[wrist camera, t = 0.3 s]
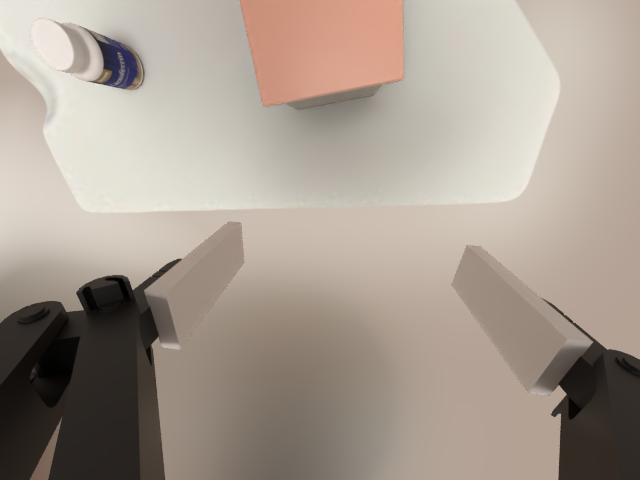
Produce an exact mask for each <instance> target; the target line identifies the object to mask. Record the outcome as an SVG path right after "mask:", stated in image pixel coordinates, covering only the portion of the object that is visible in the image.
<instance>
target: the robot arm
mask: <svg viewBox="0 0 640 480" xmlns="http://www.w3.org/2000/svg"><path fill="white" fill-rule="evenodd" d="M243 263H244V253H243V240H242V228H241V223H238V222H227V224H225V225H224V226H223V227H221V228H220V229H219V230H218V231H216V232H215V233H214V234H213V235H212V236H210V237H209V238H208V239H207V240H205V241H204V242H203V243H202V244H200V245H199V246H198V247H197V248H196V249H194V250H193V251H192V252H191V253H189V254H188V255H187V256H186V257H185V258H183V259H177V260H174V261H172V262H170V263H168V264H166V265H165V266H164V267H162V268H161V269H160V270H159V271H158V272H156V273H155V274H153V275H152V277H149V278H148V279H147V280H146V281H144V282H143V283H142V284H140V285H139V286H138V287H137V288H135V289H134V290H132V288H131V285H130V282H129V279H128V278H127V277H125V276H122V275H113V276H106V277H102V278H98V279H95V280H93V281H91V282H89V283H86V284H85V285H84V286H82V287H81V288H79V290H78V291H77V296H78V298H79V300H80V302H81V304H82V306H83V309H84V310H83V311H73V312H66V311H65V309H64V307H63V305H62V304H61V302H57V301H46V302H41V303H36V304H32V305H30V306H26V307H24V308H22V309H20V310H19V311H16V312H14V313H12V314H11V315H10V316H8V317H7V318H6V319H4V321H2V322H1V323H0V480H30V478H31V476H32V474H33V472H34V470H35V468H36V466H37V464H38V462H39V460H40V458H41V457H42V454H43V453H44V451H45V449H46V447H47V445H48V443H49V441H50V439H51V437H52V435H53V433H54V431H55V429H56V427H57V425H58V424H59V422H60V420H61V418H62V421H61V426H60V430H59V434H58V439H57V443H56V448H55V452H54V457H53V461H52V466H51V470H50V474H49V479H48V480H165V474H164V463H163V452H162V441H161V431H160V420H159V409H158V399H157V388H156V377H155V367H154V356H153V349H152V346H151V344H152V343H153V342H154V341H155V340H156V339H157V337H159V340H160V343H161V346H162V347H164V348H172V349H180V350H181V348H182V347H183V346H184V344H185V343H186V342H187V340H188V339H189V337H190V336H191V335H192V333H193V332H194V331H195V329H196V328H197V326H198V325H199V324H200V322H201V321H202V320H203V318H204V317H205V316H206V314H207V313H208V312H209V310H210V309H211V307H212V306H213V305H214V303H215V302H216V301H217V299H218V298H219V296H220V295H221V294H222V292H223V291H224V290H225V288H226V287H227V285H228V284H229V283H230V281H231V280H232V279H233V277H234V276H235V274H236V273H237V272H238V270H239V269H240V268H241V266H242V265H243ZM452 286H453V287H454V289H455V290H456V292H457V293H458V294H459V296H460V297H461V299H462V300H463V301H464V303H465V304H466V306H467V307H468V309H469V310H470V311H471V313H472V314H473V316H474V317H475V318H476V320H477V321H478V323H479V324H480V326H481V327H482V328H483V330H484V331H485V333H486V334H487V336H488V337H489V338H490V340H491V341H492V343H493V344H494V346H495V347H496V348H497V350H498V351H499V353H500V354H501V356H502V357H503V358H504V360H505V361H506V363H507V364H508V365H509V367H510V368H511V370H512V371H513V372H514V374H515V375H516V377H517V378H518V380H519V381H520V382H521V384H522V385H523V387H524V388H525V389H526V391H527V392H528V393H531V394H540V395H548V396H550V395H551V394H552V392H553V391H554V390H555V389H556V388H557V386H558V385H560V387H561V388H562V389H563V390H564V391H565V392H566V394H567V395H566V396H565V397H564V399H563V400H562V401H561V402H560V403H559V404H558V406H557V407H556V408H555V409H554V410H553V412H552V414H551V415H552V416H554V417H556V415H557V414H561V431H560V455H559V456H560V457H559V479H558V480H640V360H639V359H637V358H635V357H633V356H631V355H629V354H626V353H623V352H620V351H616V350H611V349H610V350H607V349H606V348H604V347H603V346H602V345H601V344H600V343H598V342H597V341H596V340H595V339H593V338H592V337H591V336H590V335H589V334H588V333H586V332H585V331H584V330H583V329H582V328H580V327H579V326H578V325H577V324H576V323H573V321H572V320H571V319H569V318H568V317H567V316H566V315H564V314H563V313H562V312H561V311H560V310H559V309H557V308H556V307H555V306H554V305H553V304H551V303H549V302H548V301H546V300H544V299H543V298H541V297H540V296H538V295H537V294H536V293H535V292H534V291H532V290H531V289H530V288H529V287H528V286H527V285H525V284H524V283H523V282H522V281H521V280H520V279H518V278H517V277H516V276H515V275H513V274H512V273H511V272H510V271H509V270H508V269H507V268H505V267H504V266H503V265H502V264H501V263H499V262H498V261H497V260H496V259H495V258H494V257H492V256H491V255H490V254H489V253H488V252H487V251H485V250H484V249H483V248H482V247H481V246H471V245H467V246H466V248H465V251H464V254H463V256H462V259H461V261H460V264H459V267H458V269H457V272H456V274H455V277H454V280H453V283H452Z"/></svg>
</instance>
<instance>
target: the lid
mask: <svg viewBox="0 0 640 480" xmlns="http://www.w3.org/2000/svg"><path fill="white" fill-rule="evenodd" d="M240 4H241V8H242V13H243V17H244V22H245V26H246V31H247V35H248V40H249V44H250V49H251V53H252V58H253V62H254V67H255V71H256V76H257V80H258V85H259V89H260V94H261V98H262V103H263V106H266V107H269V106H274V105H279V104H284V103H289V102H294V101H300V100H305V99H310V98H315V97H320V96H325V95H330V94H335V93H340V92H346V91H351V90H356V89H361V88H366V87H371V86H376V85H381V84H386V83H391V82H397V81H401V80H402V79H403V0H240Z"/></svg>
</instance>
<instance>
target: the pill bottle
mask: <svg viewBox="0 0 640 480" xmlns="http://www.w3.org/2000/svg"><path fill="white" fill-rule="evenodd" d="M30 35H31V41H32V44H33V47H34V49H35V51H36V53H37V54H38V56H39V57H40V58H41V59H42V60H43V61H44V62H45V63H46V64H47V65H48V66H50V67H51V68H53V69H56V70H59V71H63V72H66V73H70V74H71V75H73V76H74V77H76V78H78V79H81V80H84V81H88V82H93V83H98V84H103V85H107V86H112V87H117V88H122V89H127V90H132V89H136V88H137V87H138V86H140V84H141V82H142V80H143V68H142V65H141V62H140V60H139V58H138V56H137V55H136V54H135V53H134V52H133V51H132V50H131V49H130V48H129V47H128V46H126V45H124V44H122V43H120V42H117V41H115V40H112V39H110V38H108V37H105V36H103V35H100V34H98V33H95V32H93V31H91V30H88V29H86V28H83V27H81V26H78V25H76V24H72V23H63V24H61V23H58V22H55V21H53V20H50V19H45V18H41V19H38V20H36V21H35V22H34V23H33V24H32V26H31V31H30Z"/></svg>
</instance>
